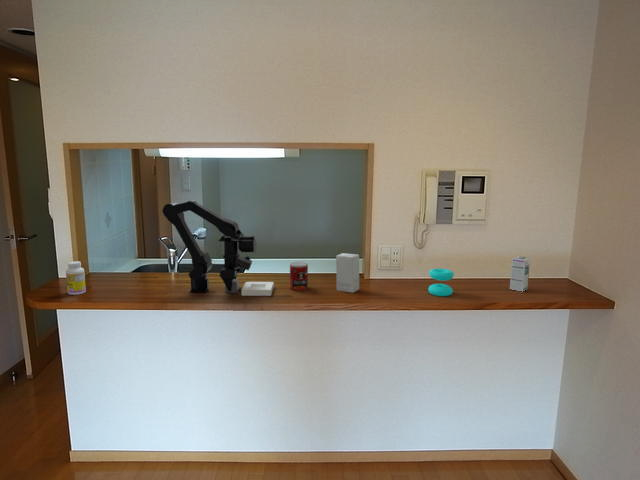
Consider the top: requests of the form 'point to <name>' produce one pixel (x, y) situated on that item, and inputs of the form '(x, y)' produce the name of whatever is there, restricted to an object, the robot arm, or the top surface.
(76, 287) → the supplement bottle
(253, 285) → the socket plate
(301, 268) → the canned food
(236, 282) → the plug
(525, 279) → the syrup box
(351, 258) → the skincare box
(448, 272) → the donuts
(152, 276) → the top surface
